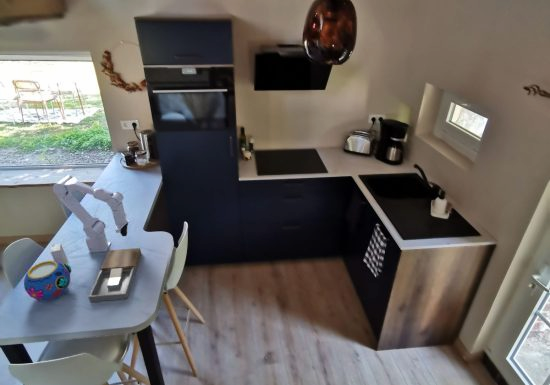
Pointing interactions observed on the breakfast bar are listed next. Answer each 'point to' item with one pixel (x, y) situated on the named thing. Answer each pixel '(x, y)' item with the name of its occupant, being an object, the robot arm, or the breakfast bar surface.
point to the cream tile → (116, 273)
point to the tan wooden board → (121, 259)
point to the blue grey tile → (114, 282)
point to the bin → (105, 294)
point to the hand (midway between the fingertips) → (124, 235)
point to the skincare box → (59, 254)
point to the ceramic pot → (47, 280)
